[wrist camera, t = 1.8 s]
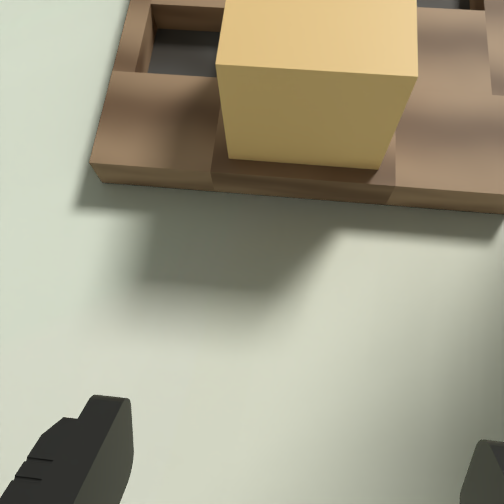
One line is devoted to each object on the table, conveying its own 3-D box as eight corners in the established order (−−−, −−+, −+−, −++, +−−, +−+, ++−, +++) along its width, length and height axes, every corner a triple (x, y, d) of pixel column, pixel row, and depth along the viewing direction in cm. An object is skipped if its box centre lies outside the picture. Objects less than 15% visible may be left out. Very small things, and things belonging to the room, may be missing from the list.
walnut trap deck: (506, 214, 30) (527, 196, 28) (102, 182, 32) (88, 162, 29) (480, -84, 39) (493, -116, 37) (169, -96, 41) (163, -128, 39)
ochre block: (378, 169, 28) (418, 76, 21) (228, 158, 29) (215, 64, 22) (380, 50, 32) (415, -68, 24) (244, 42, 32) (238, -75, 25)
